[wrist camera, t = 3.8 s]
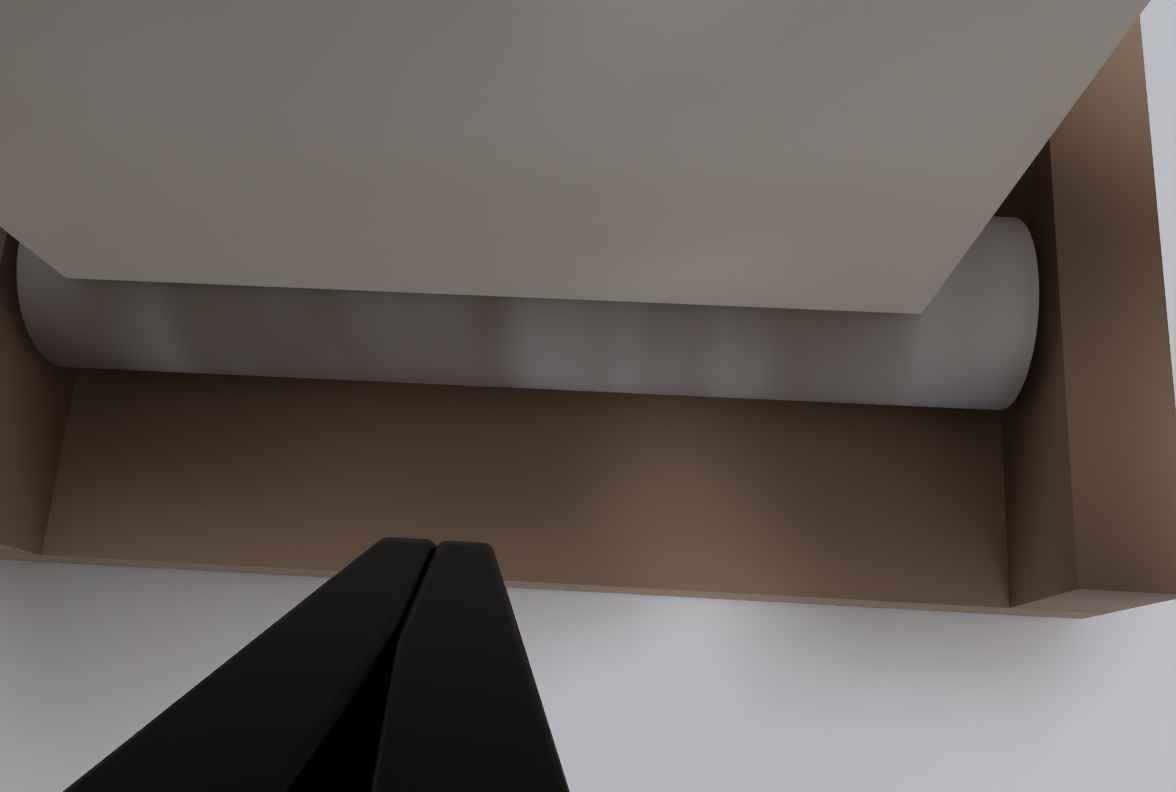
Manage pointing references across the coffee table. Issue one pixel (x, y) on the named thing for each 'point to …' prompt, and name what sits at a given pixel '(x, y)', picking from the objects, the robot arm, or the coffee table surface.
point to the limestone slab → (535, 141)
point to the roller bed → (640, 419)
